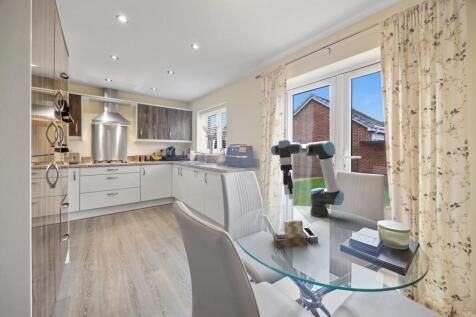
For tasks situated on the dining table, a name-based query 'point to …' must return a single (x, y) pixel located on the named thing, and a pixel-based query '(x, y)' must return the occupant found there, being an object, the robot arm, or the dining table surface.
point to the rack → (290, 242)
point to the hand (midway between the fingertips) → (288, 196)
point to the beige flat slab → (293, 229)
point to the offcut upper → (280, 234)
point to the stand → (313, 237)
